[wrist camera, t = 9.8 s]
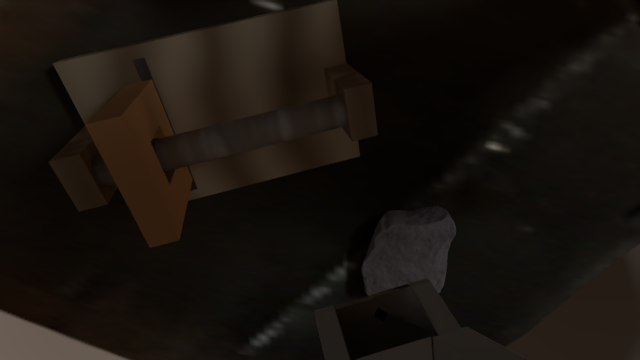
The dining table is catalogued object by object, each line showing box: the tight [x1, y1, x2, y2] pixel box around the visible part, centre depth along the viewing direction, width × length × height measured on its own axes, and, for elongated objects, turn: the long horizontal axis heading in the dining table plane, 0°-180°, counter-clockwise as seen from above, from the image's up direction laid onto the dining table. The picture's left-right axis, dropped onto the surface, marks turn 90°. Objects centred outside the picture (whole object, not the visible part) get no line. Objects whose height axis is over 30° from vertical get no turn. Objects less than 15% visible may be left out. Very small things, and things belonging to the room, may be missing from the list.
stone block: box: [361, 206, 456, 296], centre depth 44 cm, size 12×5×10 cm
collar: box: [85, 79, 193, 248], centre depth 27 cm, size 2×9×9 cm, turn 11°
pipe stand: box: [49, 0, 378, 212], centre depth 30 cm, size 22×14×8 cm, turn 101°
